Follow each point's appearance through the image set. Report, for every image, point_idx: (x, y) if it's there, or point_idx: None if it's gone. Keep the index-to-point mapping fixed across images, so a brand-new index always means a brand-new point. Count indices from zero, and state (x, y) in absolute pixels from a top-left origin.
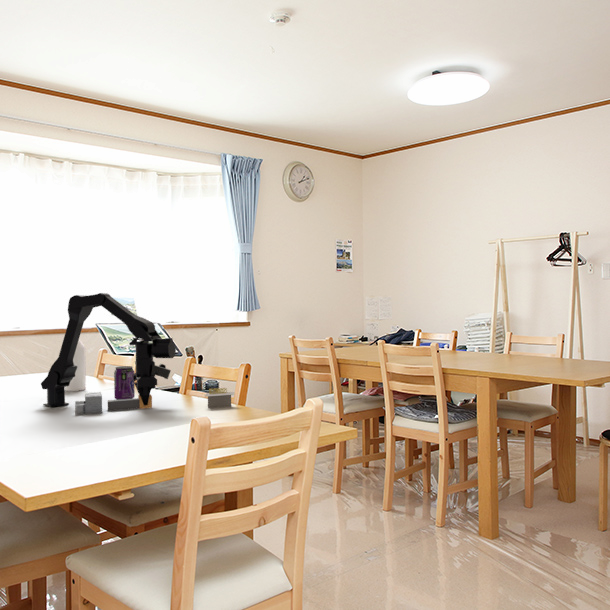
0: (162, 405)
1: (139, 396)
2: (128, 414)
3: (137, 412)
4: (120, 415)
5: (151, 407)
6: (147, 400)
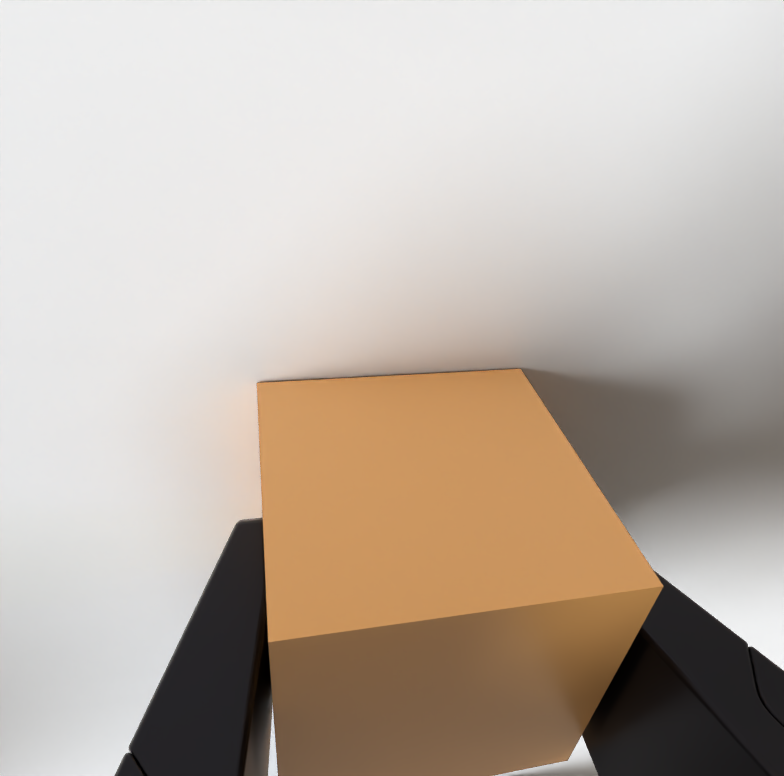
0: (282, 77)
1: (527, 767)
2: (779, 606)
3: (748, 544)
4: (761, 653)
5: (519, 382)
6: None
